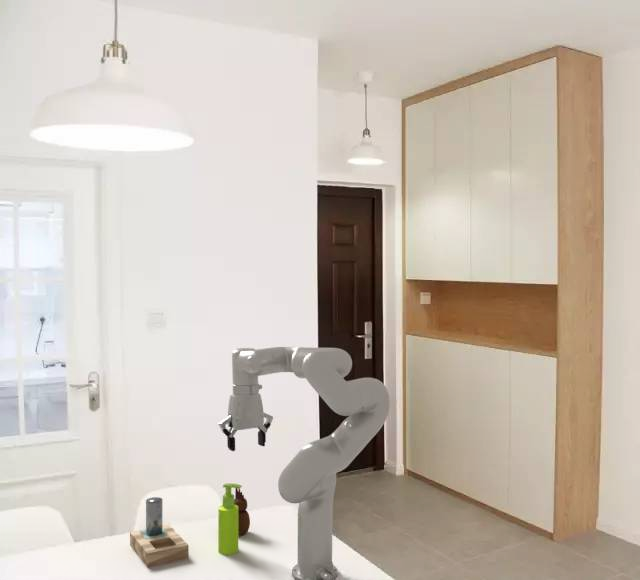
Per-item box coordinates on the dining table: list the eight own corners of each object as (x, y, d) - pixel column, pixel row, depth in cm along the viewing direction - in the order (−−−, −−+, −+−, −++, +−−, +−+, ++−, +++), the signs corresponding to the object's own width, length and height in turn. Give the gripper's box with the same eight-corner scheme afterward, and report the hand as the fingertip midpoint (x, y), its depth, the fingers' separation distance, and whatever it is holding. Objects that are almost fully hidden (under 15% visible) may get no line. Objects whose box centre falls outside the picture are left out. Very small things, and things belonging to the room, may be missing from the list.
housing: (188, 558, 199) (188, 544, 199) (147, 567, 193) (147, 553, 193) (168, 537, 214) (168, 524, 214) (130, 545, 208) (129, 531, 208)
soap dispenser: (238, 556, 201) (238, 488, 200) (215, 554, 202) (215, 486, 202) (244, 548, 207) (244, 482, 206) (222, 546, 208) (222, 480, 207)
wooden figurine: (227, 531, 220) (227, 484, 219) (245, 528, 222) (245, 482, 222) (234, 539, 214) (234, 491, 213) (252, 536, 216) (252, 488, 216)
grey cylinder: (164, 534, 207) (164, 501, 206) (148, 537, 204) (148, 503, 204) (159, 528, 211) (159, 496, 210) (144, 531, 208) (144, 498, 208)
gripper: (265, 385, 212) (267, 441, 212) (213, 391, 203) (214, 449, 203) (277, 388, 205) (278, 446, 206) (223, 394, 196) (225, 454, 196)
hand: (246, 447), depth 204 cm, fingers open, 9 cm apart
